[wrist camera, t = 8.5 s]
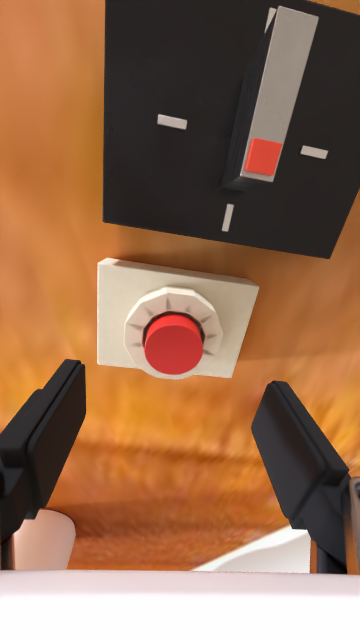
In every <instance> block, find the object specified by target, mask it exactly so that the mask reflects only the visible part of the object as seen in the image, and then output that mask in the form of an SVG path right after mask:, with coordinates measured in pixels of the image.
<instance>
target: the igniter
mask: <svg viewBox="0 0 360 640" xmlns="http://www.w3.org/2000/svg"><path fill="white" fill-rule="evenodd" d="M258 291H259V286H258V285H257V284H255V283H254V282H253V281H251V280H250V279H246V278H240V277H233V276H226V275H219V274H213V273H206V272H199V271H193V270H186V269H179V268H172V267H166V266H159V265H152V264H146V263H139V262H132V261H125V260H119V259H112V258H106V259H104V260H102V261H101V262H99V263H98V344H97V364H98V365H108V366H118V367H127V368H137V369H142V370H143V371H145V372H147V373H148V374H150V375H152V376H153V377H156V378H165V379H176V380H180V379H183V378H186V377H189V376H192V375H195V374H196V375H205V376H215V377H225V378H232V375H233V371H234V368H235V365H236V362H237V358H238V355H239V352H240V349H241V345H242V342H243V339H244V336H245V333H246V329H247V326H248V323H249V320H250V316H251V313H252V310H253V307H254V304H255V300H256V297H257V294H258ZM172 313H175V314H182V315H185V316H187V317H189V318H190V319H191V320H193V321H194V322H195V324H196V325H197V327H198V329H199V332H200V336H201V340H202V344H203V355H202V358H201V360H200V361H199V363H198V364H197V365H196V366H195V367H194V368H193V369H192V370H190V371H188V372H186V373H183V374H178V375H168V374H164V373H161V372H159V371H157V370H155V369H154V368H153V367H152V366H151V365H150V364H149V363H148V361H147V359H146V357H145V353H144V347H145V342H146V337H147V332H148V329H149V327H150V325H151V324H152V323H153V322H154V321H155V320H156V319H157V318H159V317H161V316H163V315H166V314H172Z"/></svg>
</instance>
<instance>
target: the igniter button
mask: <svg viewBox="0 0 360 640" xmlns="http://www.w3.org/2000/svg"><path fill="white" fill-rule="evenodd" d="M144 353H145V357H146V359H147V361H148V363H149V364H150V365H151V366H152V367H153V368H154V369H155V370H157V371H159V372H161V373H164V374H168V375H178V374H183V373H186V372H188V371H190V370H192V369H193V368H194V367H195V366H196V365H197V364H198V363H199V361H200V360H201V358H202V355H203V344H202V340H201V336H200V332H199V329H198V327H197V325H196V324H195V322H194V321H193V320H191V319H190V318H189V317H187V316H185V315H182V314H175V313H172V314H166V315H163V316H161V317H159V318H157V319H156V320H155V321H154V322H153V323H152V324H151V325H150V327H149V329H148V332H147V337H146V342H145V347H144Z"/></svg>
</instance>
